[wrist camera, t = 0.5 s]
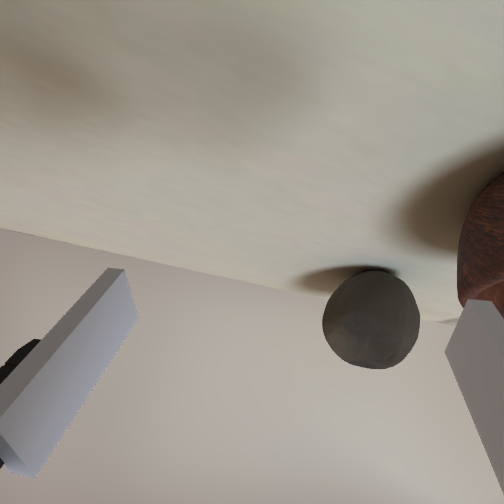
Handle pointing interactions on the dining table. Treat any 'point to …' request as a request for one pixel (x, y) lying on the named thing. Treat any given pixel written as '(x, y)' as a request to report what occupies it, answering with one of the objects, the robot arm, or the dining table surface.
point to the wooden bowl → (483, 249)
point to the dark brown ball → (372, 320)
